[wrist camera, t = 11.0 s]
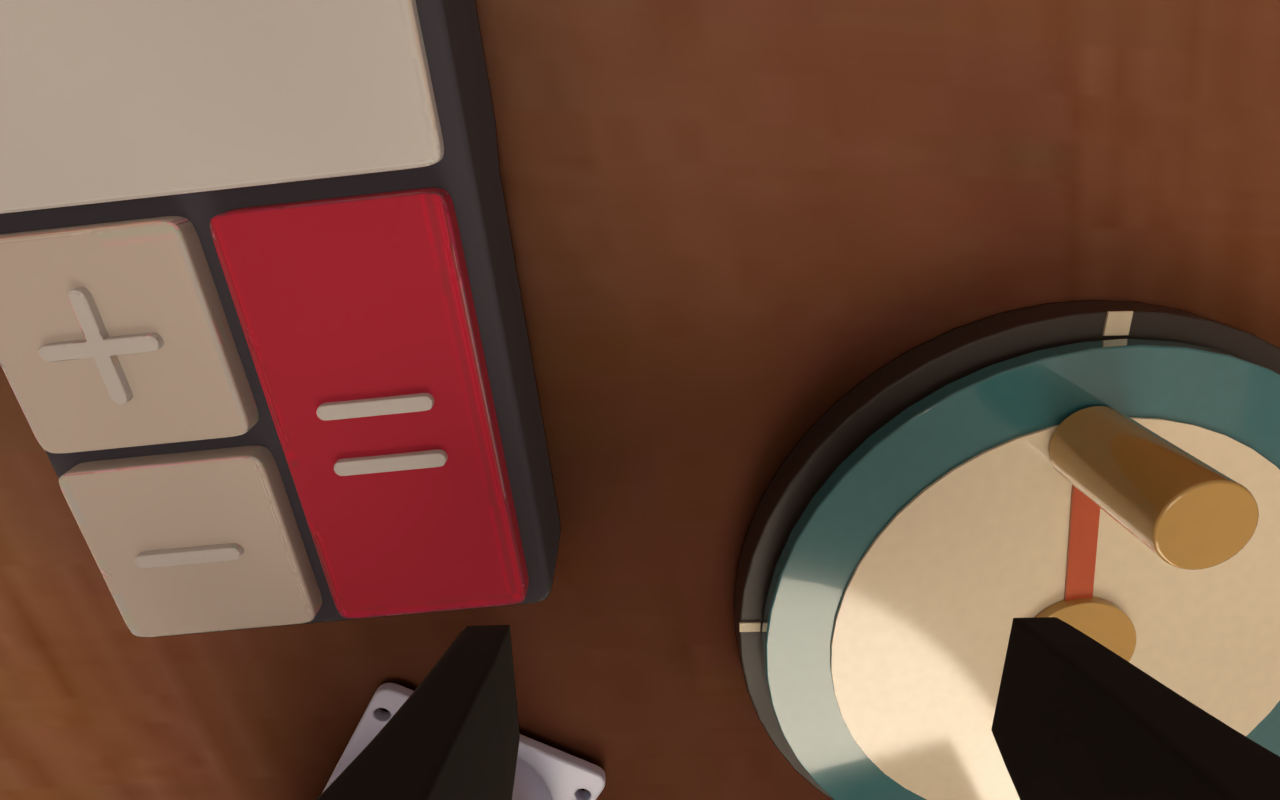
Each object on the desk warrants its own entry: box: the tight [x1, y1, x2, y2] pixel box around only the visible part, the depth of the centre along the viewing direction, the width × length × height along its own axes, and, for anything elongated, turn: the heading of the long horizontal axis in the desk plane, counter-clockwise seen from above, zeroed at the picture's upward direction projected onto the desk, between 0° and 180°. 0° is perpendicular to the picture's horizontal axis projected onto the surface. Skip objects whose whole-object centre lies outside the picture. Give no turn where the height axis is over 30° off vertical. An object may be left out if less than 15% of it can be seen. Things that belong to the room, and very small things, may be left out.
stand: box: [734, 300, 1280, 800], centre depth 22 cm, size 18×18×1 cm
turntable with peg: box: [762, 339, 1280, 800], centre depth 19 cm, size 17×17×5 cm
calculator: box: [0, 0, 561, 637], centre depth 17 cm, size 11×4×15 cm
